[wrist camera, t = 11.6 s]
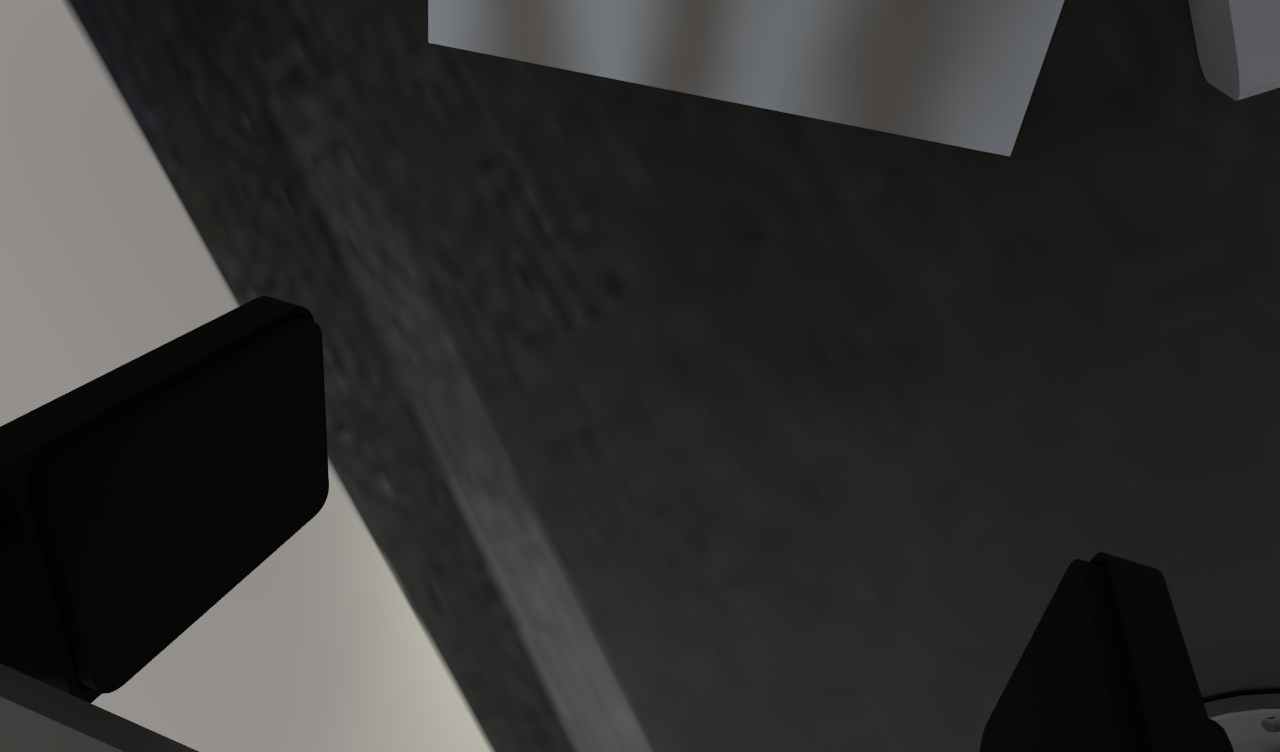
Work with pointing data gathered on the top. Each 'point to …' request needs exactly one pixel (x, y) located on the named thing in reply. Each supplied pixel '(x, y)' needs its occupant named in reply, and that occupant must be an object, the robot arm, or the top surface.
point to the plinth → (792, 54)
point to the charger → (1238, 44)
